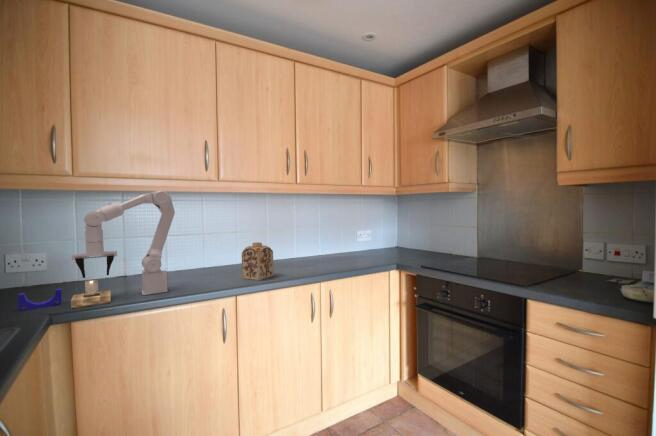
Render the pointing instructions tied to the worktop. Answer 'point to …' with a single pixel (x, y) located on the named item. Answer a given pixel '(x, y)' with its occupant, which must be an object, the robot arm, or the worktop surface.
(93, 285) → the pin
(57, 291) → the blue curved cradle
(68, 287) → the worktop surface
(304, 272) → the worktop surface
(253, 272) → the decorative jar
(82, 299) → the pocket block
